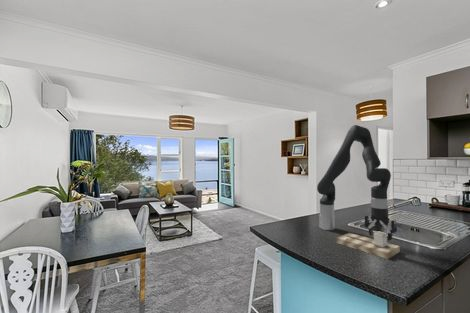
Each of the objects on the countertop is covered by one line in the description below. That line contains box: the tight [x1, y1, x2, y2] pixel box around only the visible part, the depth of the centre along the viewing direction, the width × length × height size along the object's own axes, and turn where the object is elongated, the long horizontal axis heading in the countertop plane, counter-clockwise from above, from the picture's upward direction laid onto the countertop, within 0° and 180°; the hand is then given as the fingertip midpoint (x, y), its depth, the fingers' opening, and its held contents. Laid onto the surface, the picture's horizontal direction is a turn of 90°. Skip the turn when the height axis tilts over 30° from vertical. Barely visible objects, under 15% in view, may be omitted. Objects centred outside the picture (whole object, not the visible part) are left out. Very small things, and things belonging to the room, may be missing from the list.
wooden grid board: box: [336, 232, 401, 260], centre depth 121 cm, size 26×14×3 cm, turn 34°
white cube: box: [372, 231, 389, 247], centre depth 115 cm, size 5×6×6 cm
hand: (380, 237), depth 115 cm, fingers open, 8 cm apart
